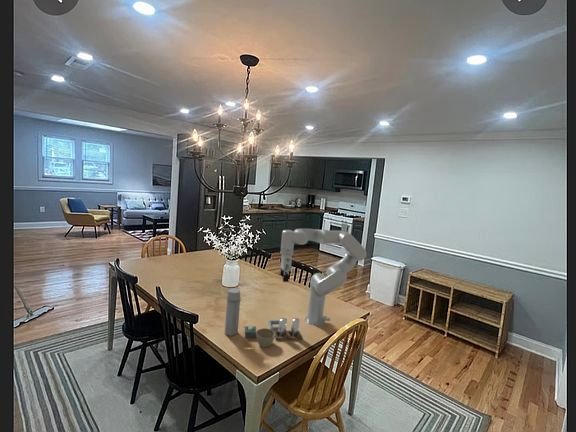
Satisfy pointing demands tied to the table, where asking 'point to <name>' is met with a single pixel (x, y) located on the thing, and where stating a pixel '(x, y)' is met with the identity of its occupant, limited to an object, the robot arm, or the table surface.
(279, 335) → the billet
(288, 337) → the pallet board
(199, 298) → the table surface
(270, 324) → the tote
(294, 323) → the billet
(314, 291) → the robot arm
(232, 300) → the water bottle
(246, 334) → the console
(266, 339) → the flower pot
